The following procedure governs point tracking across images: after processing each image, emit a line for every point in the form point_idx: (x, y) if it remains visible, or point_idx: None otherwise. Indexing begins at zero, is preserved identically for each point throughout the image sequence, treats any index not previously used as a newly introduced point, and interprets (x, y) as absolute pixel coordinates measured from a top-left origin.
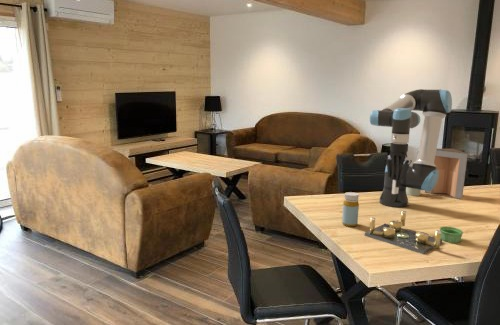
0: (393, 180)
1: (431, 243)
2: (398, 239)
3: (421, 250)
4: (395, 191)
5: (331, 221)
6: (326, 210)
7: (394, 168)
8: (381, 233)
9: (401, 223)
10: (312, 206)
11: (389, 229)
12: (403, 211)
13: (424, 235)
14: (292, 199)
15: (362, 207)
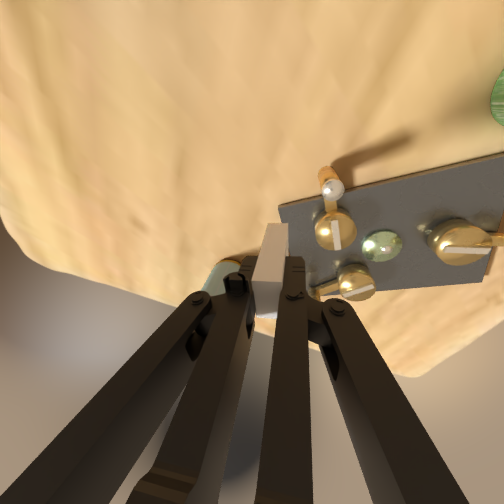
0: (263, 314)
1: (499, 245)
2: (384, 271)
3: (472, 282)
4: (287, 254)
5: (201, 287)
6: (126, 248)
7: (230, 432)
8: (338, 288)
9: (354, 224)
10: (95, 256)
11: (360, 290)
12: (330, 189)
13: (477, 252)
14: (43, 259)
15: (95, 125)
